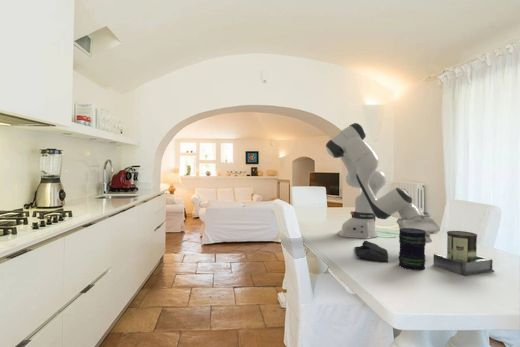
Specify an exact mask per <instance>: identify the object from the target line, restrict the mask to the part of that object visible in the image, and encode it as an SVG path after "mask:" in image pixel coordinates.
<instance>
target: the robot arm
mask: <svg viewBox="0 0 520 347" xmlns="http://www.w3.org/2000/svg"><path fill="white" fill-rule="evenodd" d="M366 136H367V133H366V130H365V129H364V127H363V126H362V125H361V124H359V123H356V122H353V123H351V124H349V126H347V127H345V128H344V129H342V130H340V131H339V132H338V133H337V134H336V135H335V136H333V137H332V139H329V140H328V141H327V142H326V145H325V148H326V151H327V153H328V154H329V155H330V156H331V157H332V158H333V159H334V158H335V159H339V158H340V159H341V161H342V163H343V164H344V166H345V169H346V170H347V174H346V177H345V180H346V181H345V182H346V184H347V185H348V186H350V187H352V188H355V189H361V192H360V194H359V195H357V196H356V197H355V199H354V201H355V202H354V206H355V207H354V211H353V210H351V211H350V212H349V214H350V215H351V218H349V219H347V220H346V221H345V222H343V223H342V226H341V230H338V231H337V235H338V236H340V237H343V238H344V237H345V238H352V239H353V238H355V239H365V240H369V239H372V238H377V237H378V233H377V230H376V218H377V219H378V220H379V219H380V220H387V219H389V218H390V217H391V216H392V215H393V214H395V213H398V214H399V217H400V218H397V219H396V223H397V225H398V228H399V230H400V229H401V228H414V229H421V230H424V231H426V234H425V235H426V237H425V238H426V241H425V243H426V244H430V243H432V242H433V240H432V238H431V235H436V234H438V233H439V232H440V231H441V230H440V229H441V228H440V226H439V224H438V223H437V222H436V221H435V219H434V218H432V215H431V214H430V212H429V211H423V210H421V209H418V207H417V206H416V205H415V204H414V202H413V198H412V196H411V195H410V194H409V192H408V190H406V189H405V188H402V187H395V188H393V189H391V190H390V191H388V192H387V193H386V194H384V195H382V196H381V197H379V198H377V195H378V193H379V191H380V190H381V189H383V188H384V187H385V185H386V183H387V177H386V175H385V173H384V172H383V171H380V170H379V171H378V170H377V168H378V166H379V162H380V161H379V158H378V156H377V154H376V153H375V151H374V150H373V149H372V148H371V146H370V145H369V144H368V143H366V142H365V141H364V140H365V138H366Z"/></svg>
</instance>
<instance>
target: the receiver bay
mask: <svg viewBox="0 0 520 347" xmlns="http://www.w3.org/2000/svg"><path fill="white" fill-rule="evenodd" d="M432 265H433V266H436V267H439V268H442V269H444V270H448V271H450V272H453V273H455V274H458V275H461V276H464V277H466V276H472V275H473V276H474V275H478V274H479V275H480V274H486V273H492V272H495V269H494V268H493V259H492V258H490V257H485V256H482V255H478V254H476V260H473V261H465V262H461V261H458V260H455V259H451V258H448V257H447V256H444V255H442V254H438V253H433V264H432Z"/></svg>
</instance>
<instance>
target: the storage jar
mask: <svg viewBox="0 0 520 347" xmlns="http://www.w3.org/2000/svg"><path fill="white" fill-rule="evenodd" d="M425 234H426V231H424V230H421V229H414V228H401V229H400V228H399V234H398V239H399V241H398V242H399V251H398V262H399V263H398V266H399V267H400V266H401V267H400V268H402V267H403V268H402V269H405V268H406V269H405V270H409V269H410V270H411V271H424V270H425V269H426V254H425V251H426V250H425V249H426V248H425V247H426V245H427V243H425V241H426V238H425V237H426V235H425Z"/></svg>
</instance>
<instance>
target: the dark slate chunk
mask: <svg viewBox="0 0 520 347" xmlns="http://www.w3.org/2000/svg"><path fill="white" fill-rule="evenodd" d="M361 244H362V245H360V246H355V247H354V251H355V254H356V256H357V258H359V259H360V260H366V259H367V261H371V260H372V261H373V262H377V261H378V262H377V263H389V255H388V254H389V253H388V250H387V249H385V248H383V247H381V246H379V245H378V244H376V243H374V242H371V241H368V240H363V242H362V243H361Z"/></svg>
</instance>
